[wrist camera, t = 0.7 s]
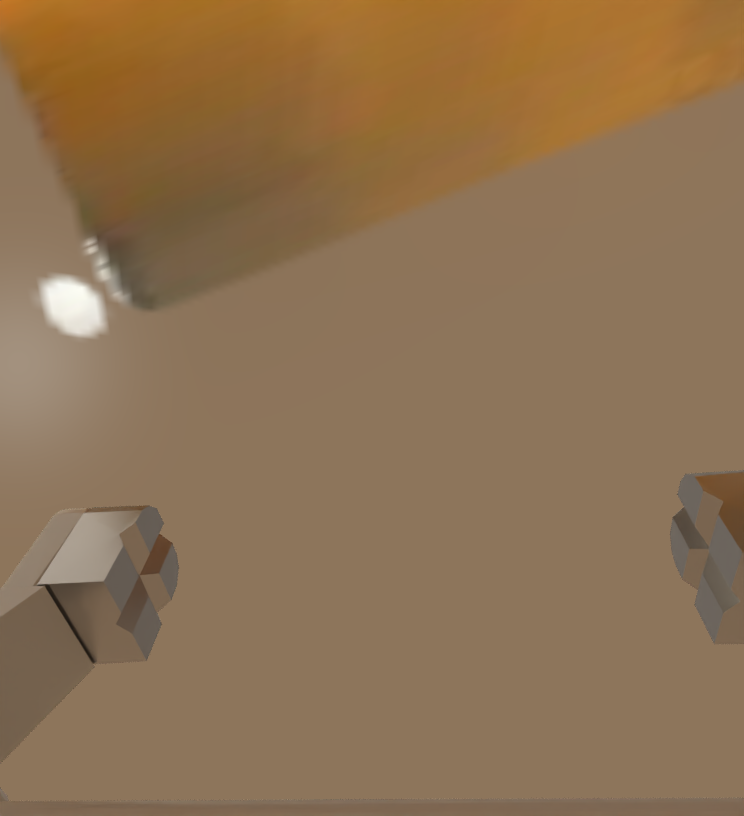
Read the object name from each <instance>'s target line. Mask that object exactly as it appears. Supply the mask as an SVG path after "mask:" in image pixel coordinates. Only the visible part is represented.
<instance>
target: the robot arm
mask: <svg viewBox="0 0 744 816" xmlns="http://www.w3.org/2000/svg"><path fill="white" fill-rule="evenodd" d="M677 495H678V497H679V498H680V500H681V502H682V504H683V506H684V508H682V509H681V510H680V511H679V512H678V513H677V514H676V515H675V516H673V519H672V525H671V531H670V539H671V550H672V555H673V558H674V561H675V564H676V567H677V569H678V571H679V573H680V576H681V578H682V579H683V580H684V581H685V582H687V583H688V584H690V585H691V586H693V587H694V588H696V589H697V590H698V592H697V596H696V600H695V607H696V608H697V611H698V613H699V614H700V617H701V619H702V621H703V622H704V624H705V626H706V629H707V631H708V633H709V635H710V636H711V639H712V641H713V643H714V644H744V470H739V471H725V472H708V473H693V474H685V475H684V477H683V478H682V480H681V482H680V486H679V490H678V494H677ZM163 524H164V522H163V521H162V518H161V516H160V514H159V512H158V510H157V508H154V507H151V506H125V507H97V508H96V507H95V508H89V509H88V508H86V509H63V510H61V511H59V512H57V513H56V514H54V515H53V517H52V518H51V520H50V521H49V523H48V524H47V525H46V527H45V528H44V529H43V531H42V532H41V534H40V535H39V536H38V538H37V539H36V541H35V542H34V543H33V545H32V546H31V548H30V549H29V550H28V552H27V553H26V555H25V556H24V557H23V559H22V560H21V562H20V563H19V564H18V566H17V567H16V569H15V570H14V571H13V573H12V574H11V576H10V577H9V579H8V580H7V581H6V583H5V584H4V585H3V587H2V588H0V763H1V762H3V760H5V758H6V757H7V756H8V755H9V754H10V753H11V752H12V751H13V750H14V749H15V748H16V747H17V746H18V745H19V744H20V743H21V742H22V741H23V740H24V739H25V738H26V737H27V736H28V735H29V734H30V733H31V732H32V731H33V730H34V729H35V728H36V727H37V726H38V725H39V724H40V722H41V721H43V720H44V719H45V718H46V716H47V715H48V714H49V713H50V712H51V711H52V710H53V709H54V708H55V707H56V706H57V705H58V704H59V703H60V702H61V701H62V700H63V699H64V698H65V697H66V696H67V695H68V694H69V693H70V692H71V691H72V690H73V689H74V688H75V687H76V686H77V685H78V684H79V683H80V682H81V681H82V680H83V679H84V678H85V676H86V675H87V674H88V673H89V672H90V671H91V670H92V669H93V668H94V665H93V664H106V663H123V662H139V661H147V659H148V656H149V654H150V651H151V649H152V647H153V644H154V642H155V639H156V637H157V634H158V632H159V629H160V627H161V625H162V624H161V621H160V618H159V616H158V613H157V612H158V611H159V610H161V609H162V608H163V607H164V606H165V605H166V604H167V603H169V602H170V601H171V600H172V597H173V594H174V591H175V589H176V586H177V580H178V569H179V565H178V559H177V553H176V551H175V549H174V546H173V544H172V542H170V541H169V540H167V539H166V538H165V537H163V536H162V535H160V534H159V533H160V531H161V528H162V526H163ZM0 816H744V798H582V799H581V798H570V799H569V798H568V799H567V798H565V799H564V798H562V799H560V798H559V799H556V798H554V799H553V798H552V799H333V800H332V799H330V800H327V799H326V800H127V801H126V800H121V801H118V800H117V801H115V800H113V801H112V800H110V801H109V800H107V801H9V800H8V796H7V794H6V793H5V792H4V791H3V790H2V789H1V788H0Z"/></svg>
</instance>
